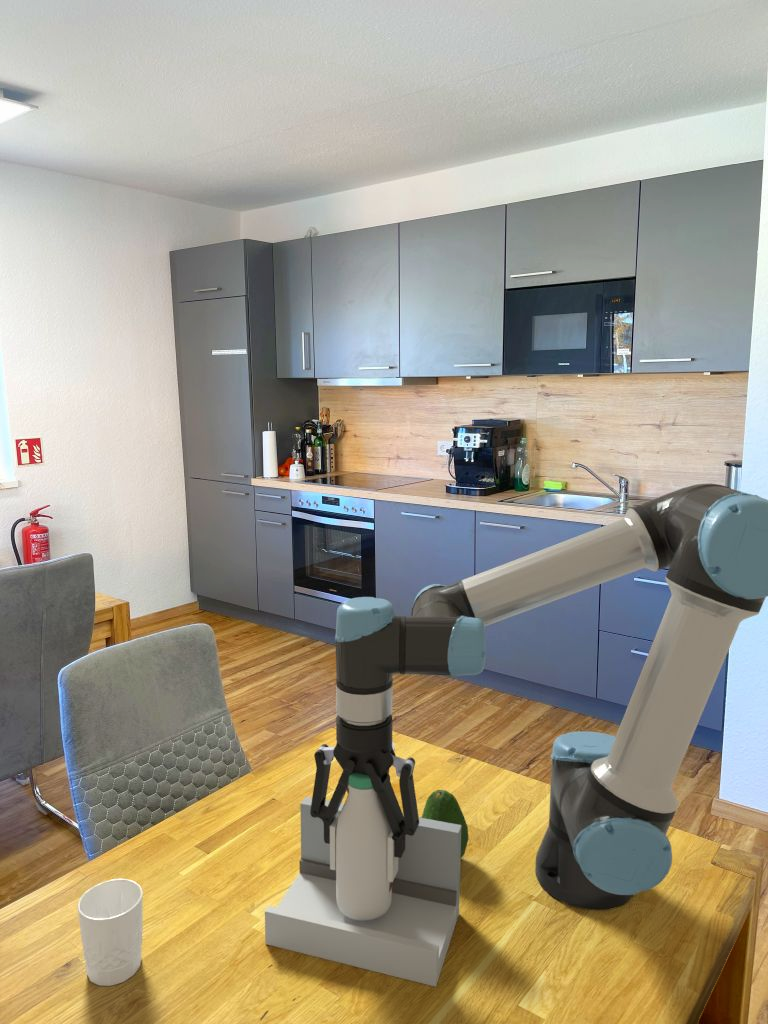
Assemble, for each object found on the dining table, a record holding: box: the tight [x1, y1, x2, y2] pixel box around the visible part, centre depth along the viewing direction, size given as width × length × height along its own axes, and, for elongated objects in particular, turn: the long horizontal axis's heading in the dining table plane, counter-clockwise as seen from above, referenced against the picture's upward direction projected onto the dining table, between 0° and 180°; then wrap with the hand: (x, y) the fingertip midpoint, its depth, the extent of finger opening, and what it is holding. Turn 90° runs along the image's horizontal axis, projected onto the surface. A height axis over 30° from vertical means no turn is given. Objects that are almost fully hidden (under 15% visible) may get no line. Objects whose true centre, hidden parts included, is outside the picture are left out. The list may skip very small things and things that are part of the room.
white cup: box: [77, 878, 144, 987], centre depth 98 cm, size 8×8×10 cm
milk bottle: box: [336, 773, 392, 921], centre depth 103 cm, size 8×8×20 cm
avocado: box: [421, 789, 469, 860], centre depth 120 cm, size 8×8×12 cm
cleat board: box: [264, 796, 462, 988], centre depth 105 cm, size 24×14×14 cm, turn 72°
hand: (364, 869), depth 104 cm, fingers closed on milk bottle, 8 cm apart
